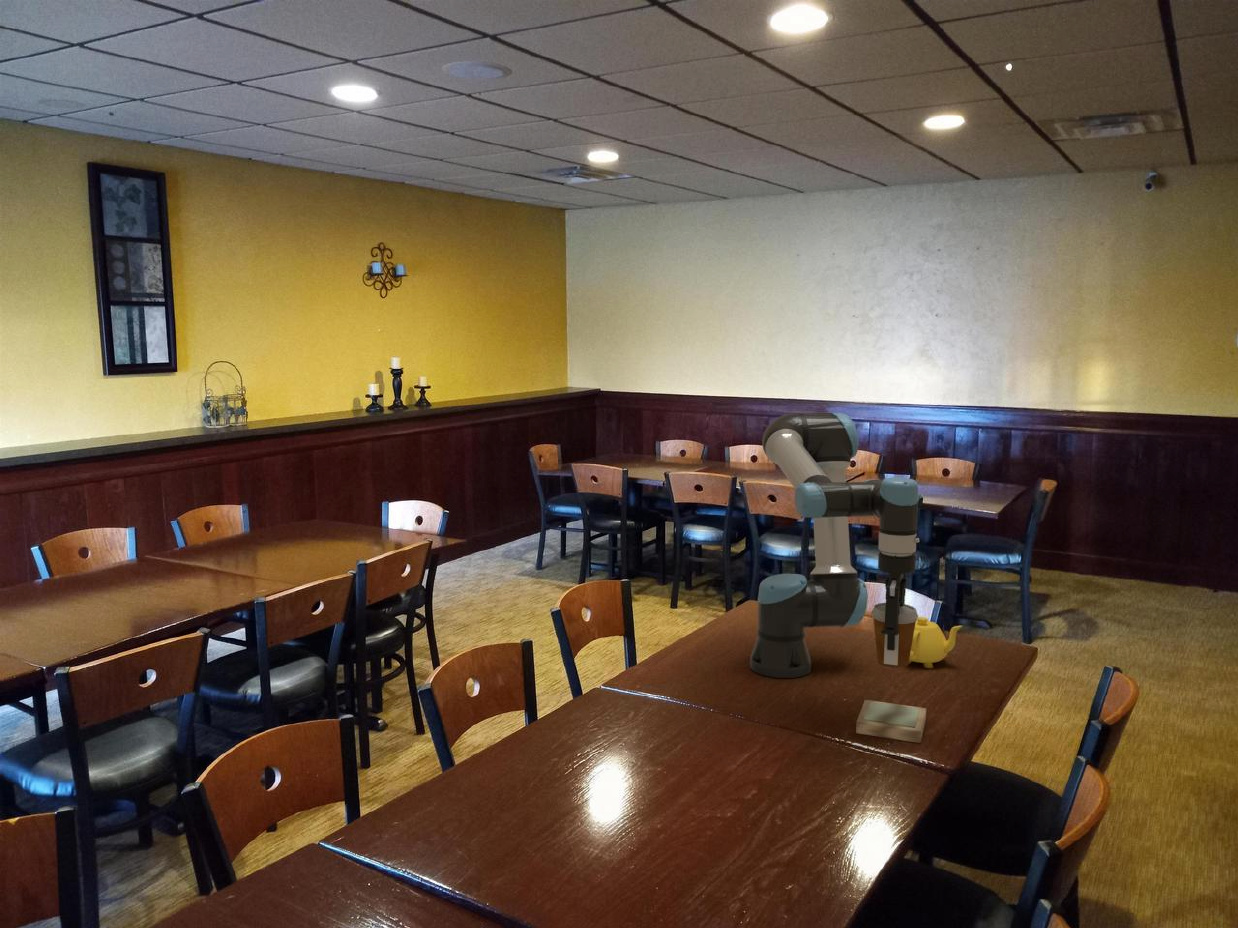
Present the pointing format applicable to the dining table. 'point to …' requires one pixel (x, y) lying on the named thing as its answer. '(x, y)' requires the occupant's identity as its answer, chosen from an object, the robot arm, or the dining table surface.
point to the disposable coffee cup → (904, 630)
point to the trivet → (891, 721)
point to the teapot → (930, 642)
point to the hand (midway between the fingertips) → (893, 657)
